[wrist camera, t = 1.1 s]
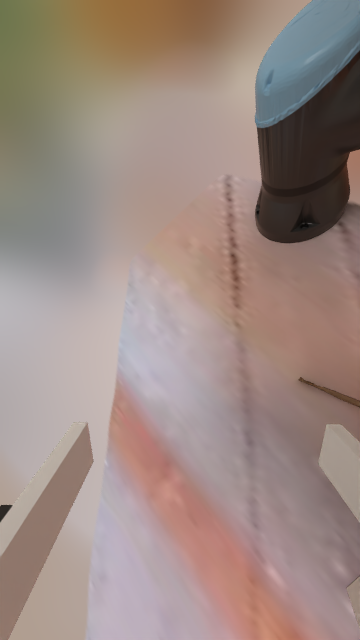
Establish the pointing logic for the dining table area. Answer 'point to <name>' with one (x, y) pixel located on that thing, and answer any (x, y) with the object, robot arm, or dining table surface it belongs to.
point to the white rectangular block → (355, 597)
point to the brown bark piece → (335, 393)
